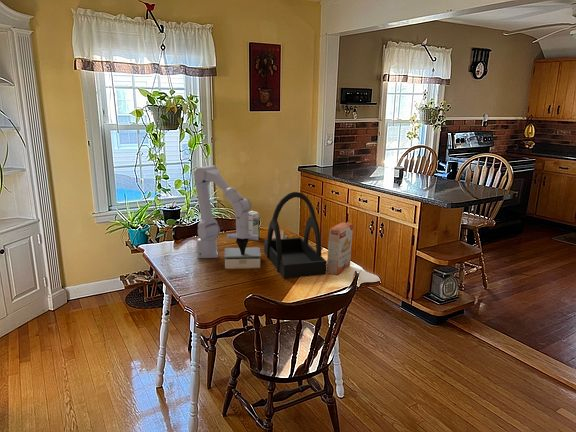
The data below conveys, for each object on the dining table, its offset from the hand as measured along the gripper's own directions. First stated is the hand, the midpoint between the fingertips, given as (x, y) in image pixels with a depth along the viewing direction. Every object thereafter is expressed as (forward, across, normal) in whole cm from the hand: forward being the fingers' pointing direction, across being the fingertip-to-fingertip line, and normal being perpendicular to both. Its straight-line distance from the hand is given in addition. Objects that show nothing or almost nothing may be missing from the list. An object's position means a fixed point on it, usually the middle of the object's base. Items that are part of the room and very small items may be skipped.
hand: (242, 254), depth 200 cm
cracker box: (+6, -44, -2) cm, 45 cm away
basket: (+6, -23, -8) cm, 25 cm away
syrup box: (+6, +3, -43) cm, 44 cm away
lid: (+1, +1, -3) cm, 4 cm away
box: (+6, +1, -4) cm, 7 cm away
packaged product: (+6, -11, -38) cm, 40 cm away
